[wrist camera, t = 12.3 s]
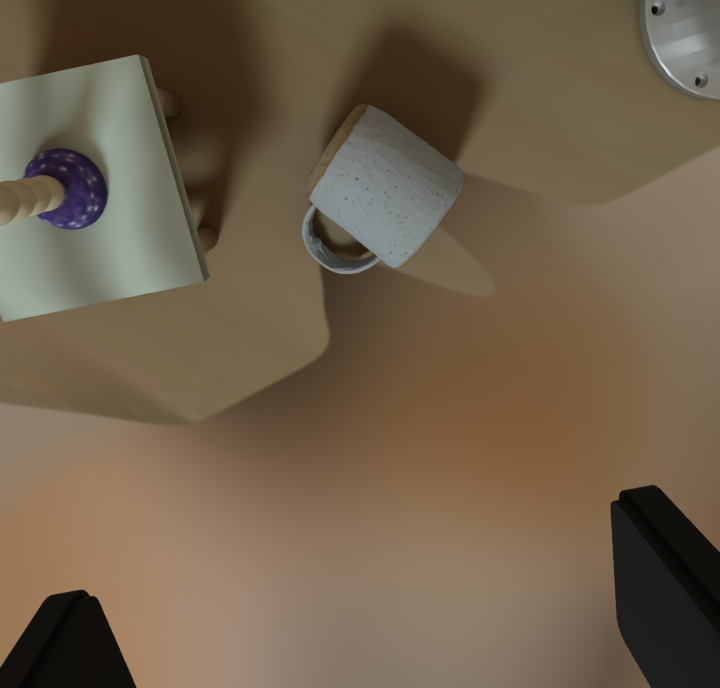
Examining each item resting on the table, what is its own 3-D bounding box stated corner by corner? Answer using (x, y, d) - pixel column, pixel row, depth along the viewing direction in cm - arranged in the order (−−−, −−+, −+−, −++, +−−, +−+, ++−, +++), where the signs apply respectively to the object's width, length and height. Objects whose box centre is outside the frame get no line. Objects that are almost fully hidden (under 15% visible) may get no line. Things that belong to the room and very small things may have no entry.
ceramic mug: (360, 97, 38) (363, 88, 31) (456, 170, 40) (480, 177, 33) (276, 229, 41) (260, 248, 34) (369, 291, 43) (373, 322, 36)
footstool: (184, 75, 37) (138, 54, 29) (232, 254, 41) (204, 282, 33) (8, 112, 38) (-89, 102, 29) (72, 286, 42) (3, 321, 33)
